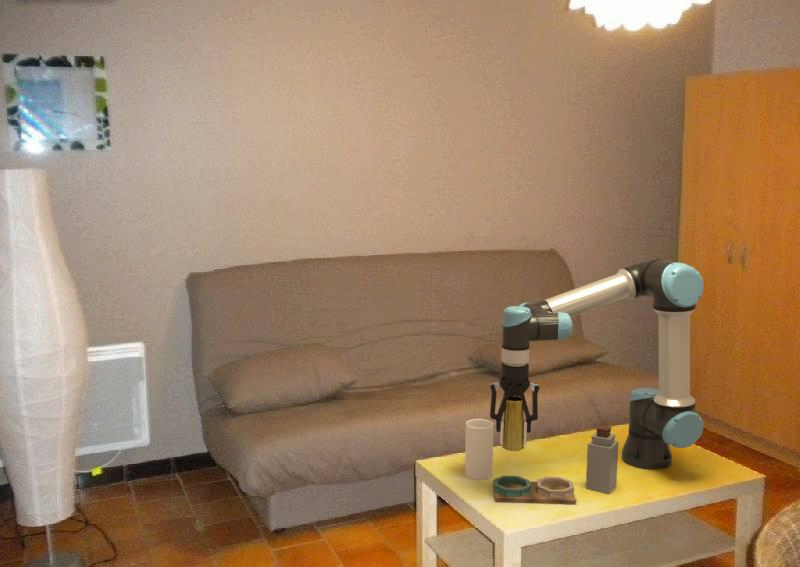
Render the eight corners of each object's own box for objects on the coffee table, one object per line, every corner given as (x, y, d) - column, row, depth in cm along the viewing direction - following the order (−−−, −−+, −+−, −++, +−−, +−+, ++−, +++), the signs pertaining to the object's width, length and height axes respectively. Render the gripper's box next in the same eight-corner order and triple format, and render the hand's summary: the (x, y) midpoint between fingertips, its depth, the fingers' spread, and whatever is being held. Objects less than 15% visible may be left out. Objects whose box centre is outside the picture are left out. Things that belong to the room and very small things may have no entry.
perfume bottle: (609, 494, 222) (611, 433, 220) (585, 489, 226) (588, 429, 223) (616, 485, 228) (619, 426, 225) (593, 480, 232) (596, 422, 229)
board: (569, 486, 228) (570, 475, 227) (575, 504, 216) (576, 493, 215) (493, 484, 229) (493, 473, 229) (495, 501, 217) (495, 491, 217)
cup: (496, 471, 238) (497, 421, 236) (487, 481, 231) (488, 429, 228) (470, 467, 242) (471, 417, 239) (461, 477, 234) (461, 425, 232)
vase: (523, 452, 217) (524, 402, 215) (501, 450, 218) (502, 400, 216) (524, 444, 223) (525, 395, 221) (502, 442, 224) (504, 394, 222)
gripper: (547, 360, 220) (545, 439, 223) (480, 358, 221) (478, 437, 225) (551, 367, 212) (548, 448, 216) (481, 365, 214) (479, 446, 217)
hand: (512, 442), depth 220 cm, fingers closed on vase, 6 cm apart
